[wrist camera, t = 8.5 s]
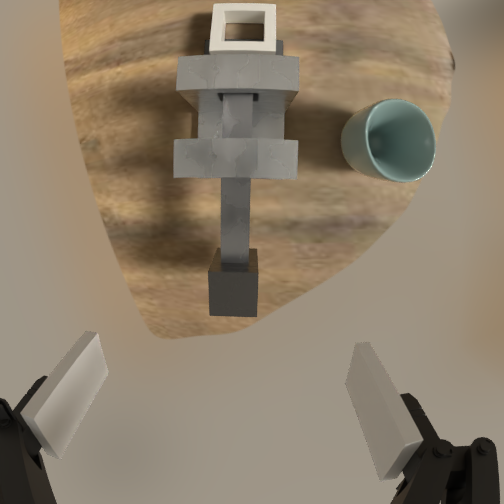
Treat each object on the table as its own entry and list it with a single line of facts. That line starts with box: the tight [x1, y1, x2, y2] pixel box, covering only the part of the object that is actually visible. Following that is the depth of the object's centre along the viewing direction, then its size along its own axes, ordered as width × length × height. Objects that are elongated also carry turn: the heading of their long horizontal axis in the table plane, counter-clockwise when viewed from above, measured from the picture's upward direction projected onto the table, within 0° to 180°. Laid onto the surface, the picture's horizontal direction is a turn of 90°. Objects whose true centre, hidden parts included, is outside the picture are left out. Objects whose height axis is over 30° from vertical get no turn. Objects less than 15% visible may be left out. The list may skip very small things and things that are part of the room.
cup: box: [341, 99, 436, 183], centre depth 27 cm, size 8×8×10 cm
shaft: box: [208, 93, 258, 317], centre depth 25 cm, size 21×4×7 cm, turn 179°
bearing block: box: [174, 54, 299, 179], centre depth 26 cm, size 11×9×11 cm
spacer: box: [209, 3, 276, 55], centre depth 26 cm, size 3×7×7 cm
